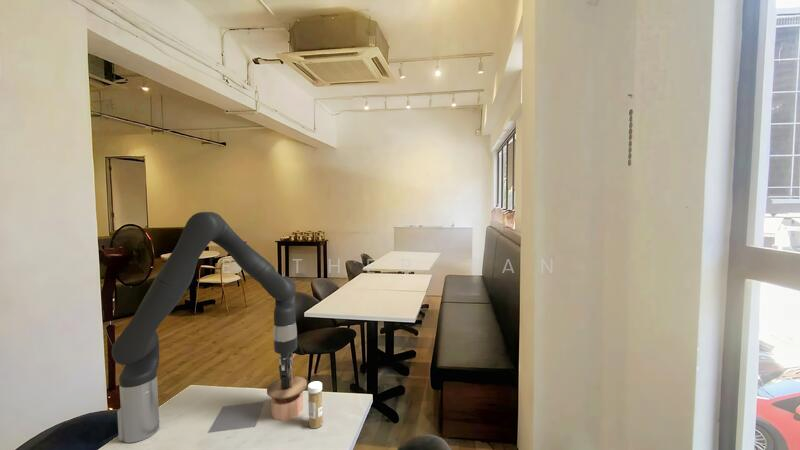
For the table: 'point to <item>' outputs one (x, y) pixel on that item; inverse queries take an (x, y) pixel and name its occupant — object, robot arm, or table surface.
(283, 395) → the walnut lid
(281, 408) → the terracotta bowl
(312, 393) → the sprinkles bottle
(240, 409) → the charcoal mat
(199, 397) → the table surface
